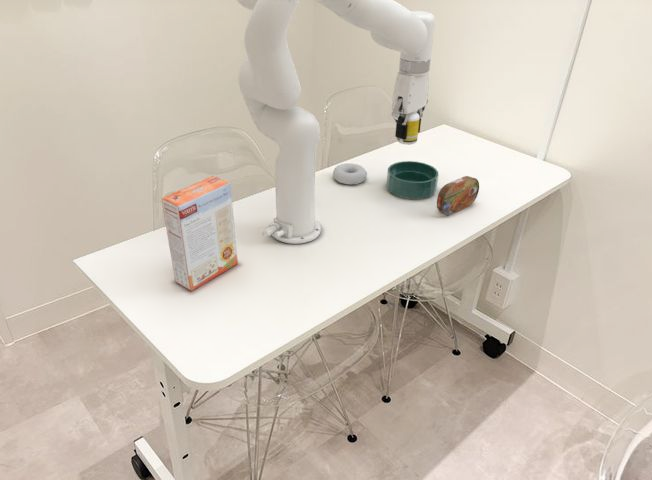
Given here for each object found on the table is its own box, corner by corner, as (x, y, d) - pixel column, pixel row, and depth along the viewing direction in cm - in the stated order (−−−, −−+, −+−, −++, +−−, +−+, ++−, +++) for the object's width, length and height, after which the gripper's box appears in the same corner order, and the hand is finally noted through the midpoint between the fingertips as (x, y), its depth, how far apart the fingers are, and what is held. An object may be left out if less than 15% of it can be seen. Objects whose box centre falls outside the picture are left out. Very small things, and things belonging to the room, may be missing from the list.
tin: (441, 219, 154) (445, 190, 149) (432, 214, 156) (436, 186, 151) (477, 203, 162) (482, 175, 157) (468, 198, 164) (473, 171, 159)
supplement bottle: (421, 141, 157) (425, 105, 151) (408, 146, 153) (412, 110, 148) (405, 135, 160) (408, 100, 154) (392, 141, 157) (395, 105, 151)
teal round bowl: (427, 204, 160) (429, 186, 157) (378, 193, 165) (380, 175, 162) (441, 184, 171) (444, 167, 168) (396, 174, 176) (397, 157, 173)
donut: (332, 186, 169) (367, 186, 169) (332, 175, 167) (367, 175, 167) (333, 171, 177) (366, 172, 177) (333, 161, 175) (366, 161, 175)
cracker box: (220, 255, 137) (213, 173, 125) (238, 265, 134) (232, 182, 122) (172, 281, 128) (159, 196, 116) (190, 292, 125) (179, 206, 113)
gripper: (420, 56, 153) (413, 122, 163) (381, 69, 142) (376, 140, 152) (445, 61, 149) (436, 129, 159) (407, 76, 138) (400, 148, 148)
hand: (407, 134), depth 155 cm, fingers closed on supplement bottle, 5 cm apart
